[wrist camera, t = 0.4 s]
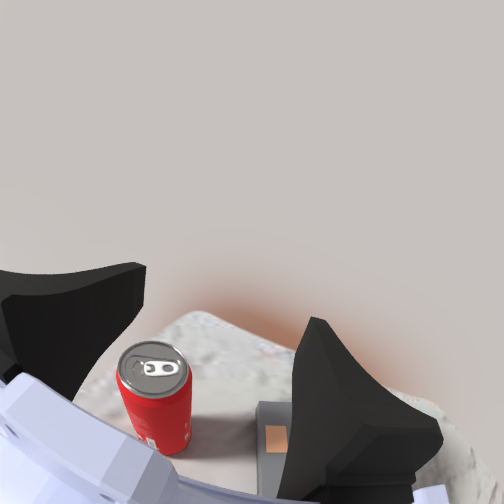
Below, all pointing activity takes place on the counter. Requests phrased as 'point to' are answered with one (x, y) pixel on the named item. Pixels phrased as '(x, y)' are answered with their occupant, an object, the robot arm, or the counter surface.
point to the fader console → (271, 444)
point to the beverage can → (157, 394)
